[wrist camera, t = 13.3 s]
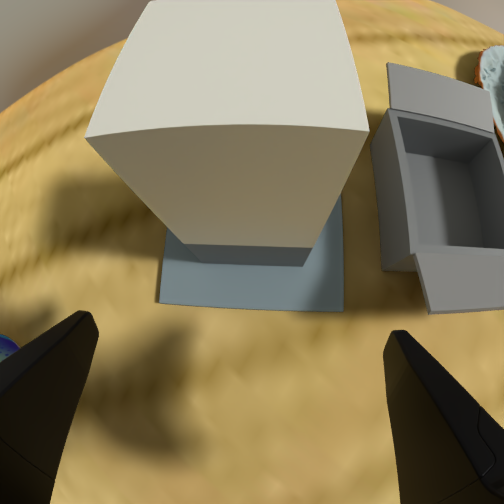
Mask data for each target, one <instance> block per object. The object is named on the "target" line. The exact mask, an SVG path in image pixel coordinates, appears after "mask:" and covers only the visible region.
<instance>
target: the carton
mask: <svg viewBox="0 0 504 504" xmlns="http://www.w3.org/2000/svg"><path fill="white" fill-rule="evenodd" d="M386 67H387V78H388V90H389V105H390V109H389V108H387V110H386V113H385V115H384V117H383V119H382V121H381V123H380V125H379V127H378V129H377V131H376V134H375V136H374V138H373V140H372V142H371V144H370V150H371V156H372V163H373V171H374V179H375V187H376V196H377V206H378V217H379V230H380V245H381V267H382V271H415V272H418V276H419V279H420V283H421V287H422V291H423V295H424V299H425V303H426V307H427V312H428V315H429V314H449V313H465V312H479V311H492V310H503V309H504V158H503V155H502V152H501V149H500V146H499V143H498V141H497V138H496V135H495V134H494V122H493V112H492V104H491V97H490V92H489V91H487V90H484V89H482V88H479V87H476V86H473V85H470V84H468V83H465V82H462V81H458V80H455V79H452V78H449V77H446V76H442V75H439V74H435V73H432V72H428V71H424V70H420V69H416V68H412V67H407V66H403V65H398V64H394V63H389V62H388V63H387V64H386Z"/></svg>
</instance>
